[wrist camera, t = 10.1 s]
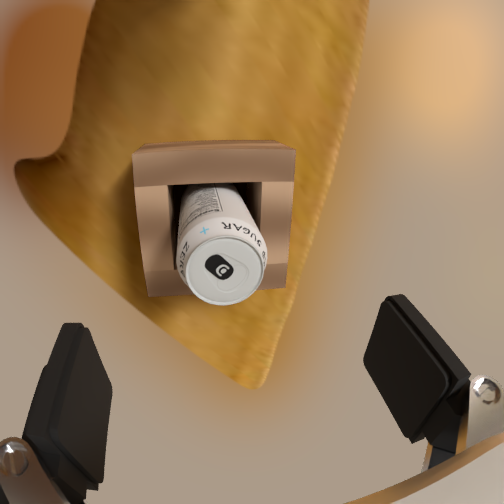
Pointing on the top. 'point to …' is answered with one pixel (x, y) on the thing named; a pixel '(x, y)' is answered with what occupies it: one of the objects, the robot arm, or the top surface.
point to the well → (211, 171)
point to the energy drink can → (219, 244)
